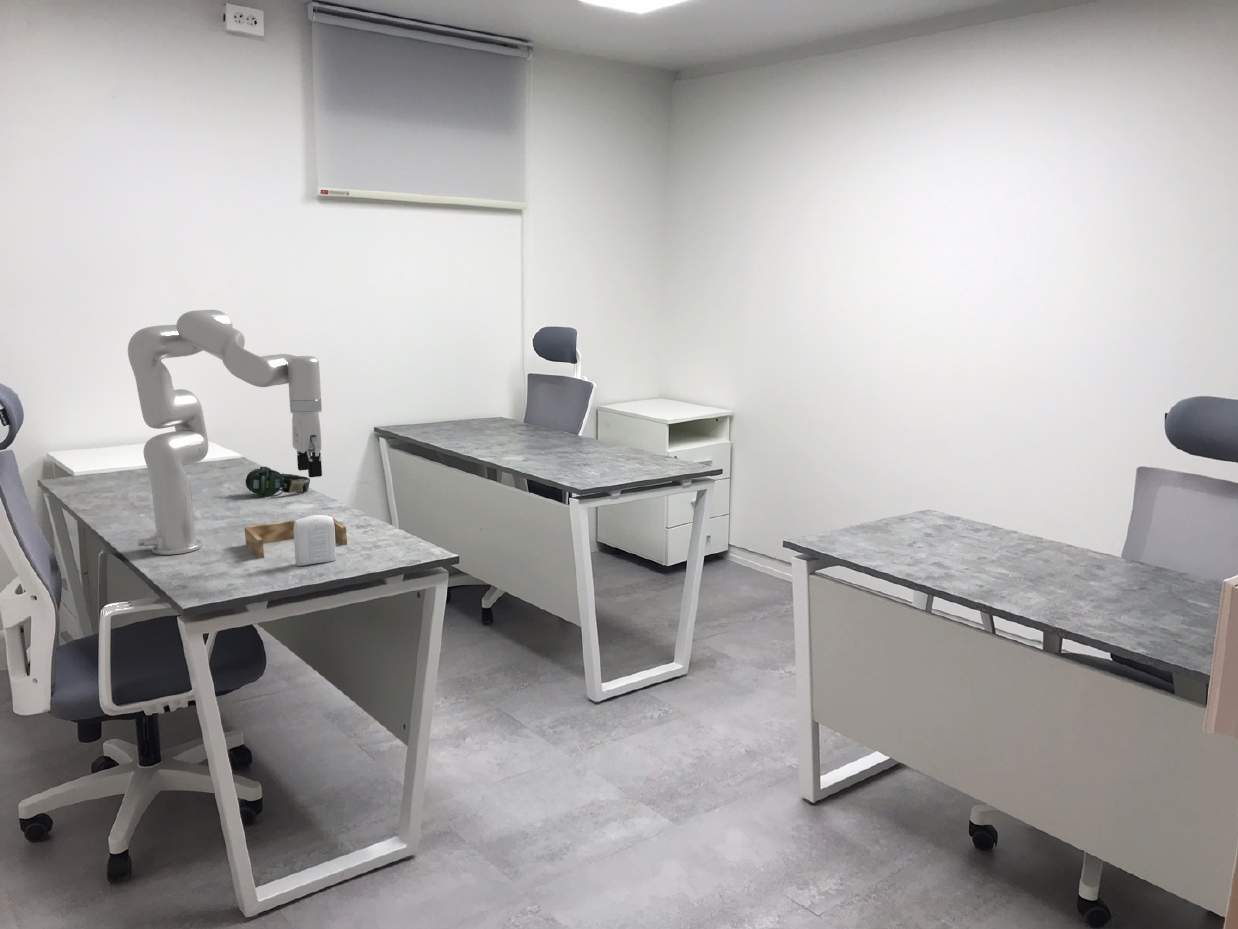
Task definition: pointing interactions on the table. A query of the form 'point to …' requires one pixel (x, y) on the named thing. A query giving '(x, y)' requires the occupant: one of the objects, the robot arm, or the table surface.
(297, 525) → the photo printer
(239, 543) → the table surface
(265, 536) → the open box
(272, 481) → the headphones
